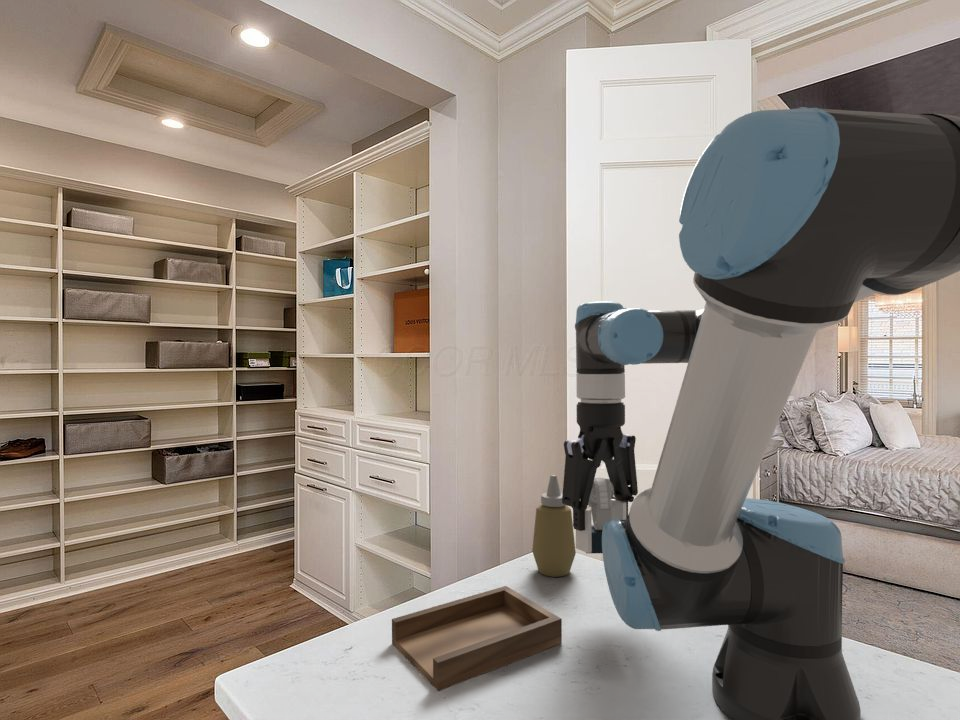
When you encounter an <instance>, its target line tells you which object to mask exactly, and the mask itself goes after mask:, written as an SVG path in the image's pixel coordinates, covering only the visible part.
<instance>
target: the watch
mask: <svg viewBox="0 0 960 720" xmlns="http://www.w3.org/2000/svg"><path fill="white" fill-rule="evenodd" d="M613 497H614V487H613V484H612V483H611V482H610V479H609V478H604V477H595V478H594V482H593V486H592V490H591V494H590V498H589V502H588V506H587V507H588V508H590V510H591V520H592V524H591V528H592V552H591V553H590V554H603V553H602V531H603V527H604V525H605V523H606V522H608V521H611V520H612V510H611V499H613Z"/></svg>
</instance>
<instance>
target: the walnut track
mask: <svg viewBox="0 0 960 720" xmlns="http://www.w3.org/2000/svg"><path fill="white" fill-rule="evenodd" d="M562 623H563V621H562V618H561V617H560V616H558V615H556V614H554V613H553V612H551V611H549V610H547V609H546V608H544V607H542V605H539V604H538V603H536V602H535V601H533V600H531V599H529V598H528V597H526V596H524V595H522V594H521V593H519V592H517V591H516V590H514V589H512V588H510V587H509V586H508V585H504V586H500V587H497V588H494V589H489V590H487V591H484V592H480V593H477V594H473V595H469V596H467V597H463V598H459V599H456V600H452V601H448V602H445V603H442V604H438V605H436V606H432V607H428V608H425V609H422V610H421V609H420V610H418V611H415V612H411V613H408V614H405V615H401V616H399V617H398V616H397V617H394V618H392V619H391V644H392V645H393V646H394V648H396V649H397V650H398V651H399V653H400V654H401V655H403V657H405V659H406V660H407V661H408V662H409V663H410V664H411V665H412V666H413V667H414V668H415V669H416V670H417V671H418V673H420V674H421V675H422V676H423V678H425V679H426V680H427V682H429V683H430V685H431V686H432V687H433V688H434V689H435V690H436V691H437V692H439V691H442V690H445V689H446V688H447V689H448V688H450V687H453V686H455V685H457V684H460V683H463V682H465V681H468V680H470V679H472V678H475V677H478V676H480V675H481V676H482V675H483V674H484V675H485V674H486V673H488V672H491V671H493V670H496V669H499V668H501V667H504V666H506V665H509V664H511V663H514V662H517V661H520V660H523V659H525V658H527V657H530V656H533V655H535V654H537V653H540V652H542V651H543V652H544V651H545V650H549V649H551V648H553V647H555V646H559V645H560V644H562V643H563V642H562V641H563V638H562V637H563V635H562V634H563V633H562V631H563V630H562V625H563V624H562Z"/></svg>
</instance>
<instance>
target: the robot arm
mask: <svg viewBox="0 0 960 720" xmlns="http://www.w3.org/2000/svg"><path fill="white" fill-rule="evenodd" d="M687 181H688V182H687V184H686V187H685V191H684V193H683V197H682V202H681V205H680V206H681V207H680V210H679V212H680V213H679V219H678V220H679V221H678V222H679V224H681V226H682V227H681V230H680V231H679V232H678V233H679V234H678V240H679V248H680V251H681V255H682V258H683V260H684V262H685V263H686V265H687V266H688V267H689V269H690V270H692V271H693V272H694V273H693V278H692V283H693V285H694V288H695V289H696V290H697V292H699V294H700V296H701V297H702V298H703V300H704V301H705V305H704V308H702V309H697V310H696V309H695V310H691V309H690V310H683V309H682V310H681V309H680V310H646V309H643V308H638V307H632V308H628V307H624V306H623V304H621V303H620V302H615V301H592V302H588V303H587V302H584V303H581V304H579V305H578V307H577V308H576V312H575V313H576V314H575V315H576V316H575V324H574V328H575V353H576V354H575V355H576V356H575V357H576V358H575V359H576V360H575V363H576V366H575V367H576V398H578V399H579V400H580V401H578V402H577V403H576V424H577V425H578V426H579V433H578V436H577V438H575V439H573V440H565V441H564V442H563V448H564V449H563V450H564V454H565V459H564V470H563V471H564V473H563V484H562V494H563V495H562V503H563V504H564V505H566V506H568V507H569V508H570V507H571V508H572V522H573V530H575V550H576V549H577V550H580V551H582V552H584V553H585V554H592V553H591V552H592V528H591V525H592V512H591V508H590V509H589V508H588V507H589V506H588V502H589V498H590V494H591V490H592V486H593V482H594V478H596V474H597V470H598V468H600V467H601V463H602V462H603V463H604V465H605V470H606V472H607V473H606V474H607V476H608V479H609V480H610V482H611V483H612V484H613V487H614V495H613V497H614V498H612V499H611V510H612V520H611V521H608V522H606V523H605V525H604V527H603V531H602V553H601V554H602V560H603V566H604V567H603V568H604V573H605V577H606V582H607V587H608V590H609V594H610V596H611V600H612V603H613V605H614V609H615V610H616V612H617V614H618V616H619V618H620V619H621V621H623V623H625V624H626V625H627V626H628V627H630V628H632V629H634V630H655V631H657V632H660V631H662V630H672V629H673V630H674V629H675V630H676V629H691V628H701V627H716V626H717V627H718V626H728V627H727V630H726V633H725V635H724V637H723V641H722V644H721V646H720V649H719V652H718V654H717V656H716V659H715V662H714V664H713V666H712V667H713V668H712V672H711V673H712V674H711V676H712V677H711V678H712V679H711V681H712V682H711V683H712V684H711V690H712V692H711V693H712V696H713V698H714V701H715V702H716V704H717V706H718V707H719V708H720V710H722V711H723V712H724V714H726V716H727V717H729V718H730V719H731V720H861V718H862V717H861V712H862V711H861V706H860V701H859V698H858V696H857V693H856V689H855V686H854V684H853V680H852V678H851V674H850V672H849V670H848V667H847V663H846V661H845V659H844V655H843V644H842V643H843V582H844V581H843V578H844V576H843V575H844V574H843V573H844V565H845V558H844V555H843V552H844V551H843V542H842V541H843V540H842V539H843V538H842V533H841V530H840V528H839V527H838V526H837V524H836V523H834V521H832V520H831V519H830V518H828V517H827V516H824V515H822V514H819V513H817V512H814V511H812V510H809V509H805V508H801V507H798V506H795V505H791V504H786V503H784V502H783V503H782V502H778V501H773V500H768V499H767V500H765V499H758V498H750V497H748V494H749V493H750V490H751V487H752V485H753V483H754V480H755V478H756V475H757V473H758V471H759V468H760V466H761V463H762V461H763V459H764V457H765V455H766V452H767V450H768V447H769V446H770V445H769V444H770V443H771V440H772V438H773V435H774V432H775V430H776V428H777V427H778V424H779V421H780V419H781V417H782V414H783V411H784V409H785V407H786V405H787V403H788V400H789V397H790V395H791V393H792V390H793V388H794V385H795V384H796V380H797V379H798V376H799V374H800V372H801V369H802V367H803V364H804V362H805V359H806V357H807V355H808V352H809V351H810V348H811V345H812V343H813V340H814V339H815V336H816V333H818V332H817V331H819V330H823V329H825V328H828V327H831V326H835V325H837V324H839V323H842V322H843V321H844V320H845V319H847V317H848V316H849V314H850V311H851V309H852V307H853V305H854V303H857V302H860V301H861V300H864V299H866V298H869V297H871V296H874V295H876V294H878V295H880V296H881V295H883V296H901V295H904V294H907V293H910V292H913V291H915V290H917V289H920V288H923V287H925V286H928V285H930V284H934V283H935V282H938V281H940V280H943V279H944V278H947V277H949V276H951V275H954V274H955V273H956V274H957V273H958V272H960V116H956V115H951V114H950V115H949V114H942V113H941V114H939V113H918V114H913V113H897V112H896V113H895V112H879V111H877V112H876V111H862V110H848V109H847V110H846V109H843V110H842V109H827V108H818V107H807V106H806V107H805V106H800V107H797V108H787V109H768V110H767V109H765V110H756V111H752V112H748V113H746V114H744V115H742V116H739V117H738V118H736V119H734V120H733V121H731V122H729V123H728V124H727V125H726V126H724V128H722V130H721V131H720V133H719V134H716V135H715V136H714V137H713V138H712V140H711V141H710V142H709V144H708V145H707V146H706V147H705V149H704V150H703V152H702V153H701V155H700V157H699V158H698V160H697V162H696V164H695V166H694V168H693V169H692V172H691V174H690V177H689V179H688V180H687ZM640 364H644V365H645V364H648V365H649V364H687V365H686V368H685V369H686V370H685V373H684V375H683V379H682V383H681V386H680V390H679V393H678V397H677V399H676V403H675V407H674V409H673V413H672V417H671V421H670V423H669V427H668V430H667V433H666V437H665V440H664V444H663V448H662V451H661V454H660V457H659V461H658V465H657V468H656V471H655V475H654V478H653V482H652V484H651V487H650V488H647V489H645V490H643V491H642V492H640V493H638V492H639V491H638V490H639V489H638V477H637V466H636V465H637V464H636V456H635V446H636V441H637V438H636V436H635V435H632V434H627V433H623V431H622V427H623V426H624V425H625V424H626V404H624V402H623V401H622V400H623V399H625V398H626V381H625V380H626V375H625V374H626V371H625V370H626V369H625V366H627V365H633V366H634V365H640ZM629 503H631V506H630V507H629Z"/></svg>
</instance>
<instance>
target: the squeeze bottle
mask: <svg viewBox="0 0 960 720" xmlns="http://www.w3.org/2000/svg"><path fill="white" fill-rule="evenodd" d="M562 495H563V492H562V493H561V489H560V485H559V481H558V476H557V475H555V474H551V475H550V476H549V481H548V485H547V490H546V492H544V493H542V494H541V495H540V503H541V504H540V505H539V506H537V507H536V508H535V518H534V519H535V521H534V529H533V538H532V549H531V552H532V554H533V557H534V561H535V564H536V568H537V570H538V573H540V574H541V575H544V576H547V577H554V578H555V577H557V578H558V577H564V576H565V577H566V576H567V575H568V574H570V573H571V569H572V565H573V563H574V560H575V557H576V554H577V553H576V540H575V535H574V527H573V511H572V509H571V508H570V506H567V505H564V504H563V503H562Z"/></svg>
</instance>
